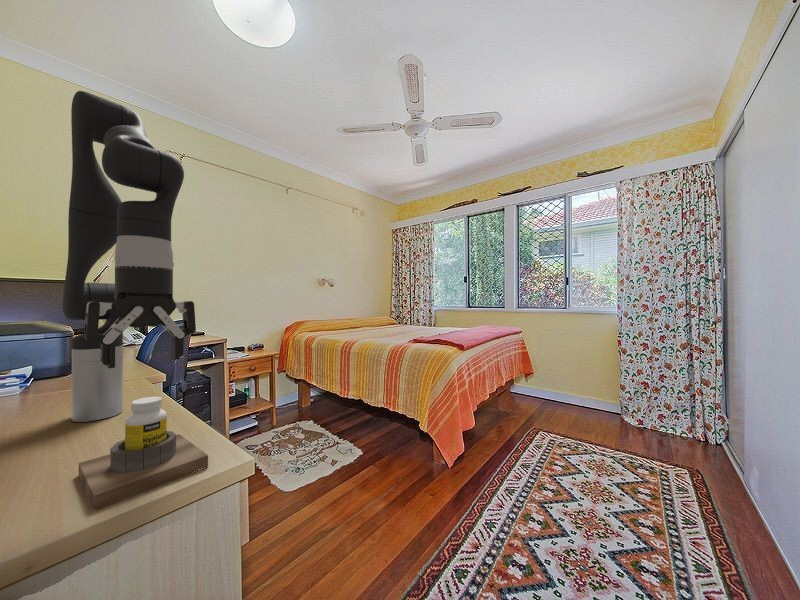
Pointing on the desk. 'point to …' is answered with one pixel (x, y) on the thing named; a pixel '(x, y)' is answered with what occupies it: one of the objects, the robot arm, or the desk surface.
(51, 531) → the desk surface
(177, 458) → the cup bracket
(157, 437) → the supplement bottle
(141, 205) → the robot arm
